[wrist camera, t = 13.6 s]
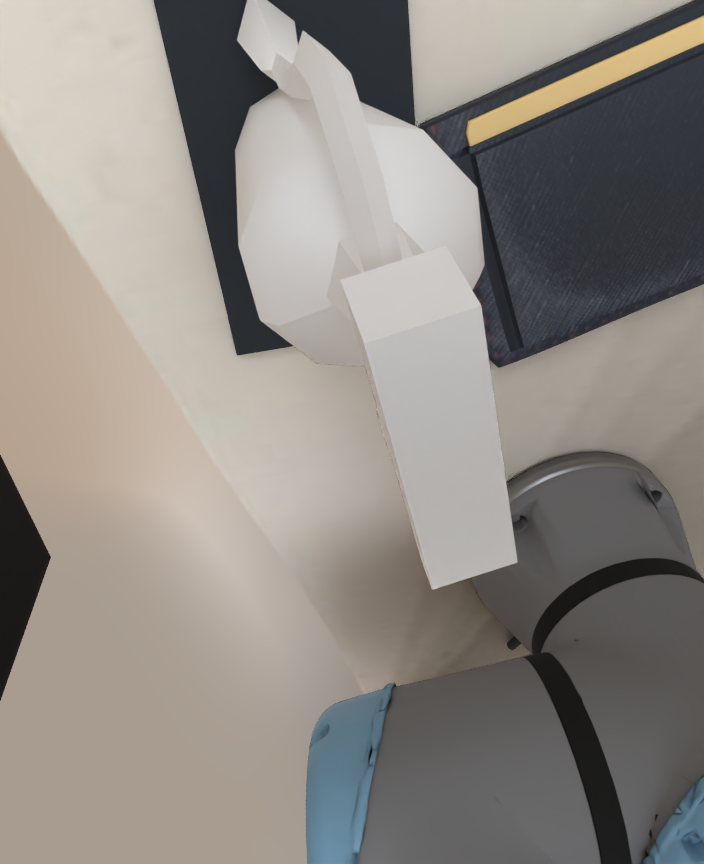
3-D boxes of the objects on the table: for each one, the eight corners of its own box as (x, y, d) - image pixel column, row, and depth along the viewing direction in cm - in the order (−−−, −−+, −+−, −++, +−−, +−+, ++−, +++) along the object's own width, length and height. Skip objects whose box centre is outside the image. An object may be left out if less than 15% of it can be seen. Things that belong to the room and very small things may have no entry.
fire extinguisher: (338, -38, 29) (594, -153, 8) (393, 234, 35) (612, 561, 15) (188, 5, 29) (46, 3, 8) (271, 268, 36) (312, 643, 15)
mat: (425, 321, 39) (426, 323, 39) (237, 352, 38) (237, 355, 38) (394, -185, 27) (396, -187, 26) (119, -150, 26) (117, -152, 26)
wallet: (494, 381, 39) (422, 116, 31) (484, 367, 41) (413, 111, 33) (827, 254, 38) (846, -59, 30) (804, 244, 40) (815, -56, 31)
